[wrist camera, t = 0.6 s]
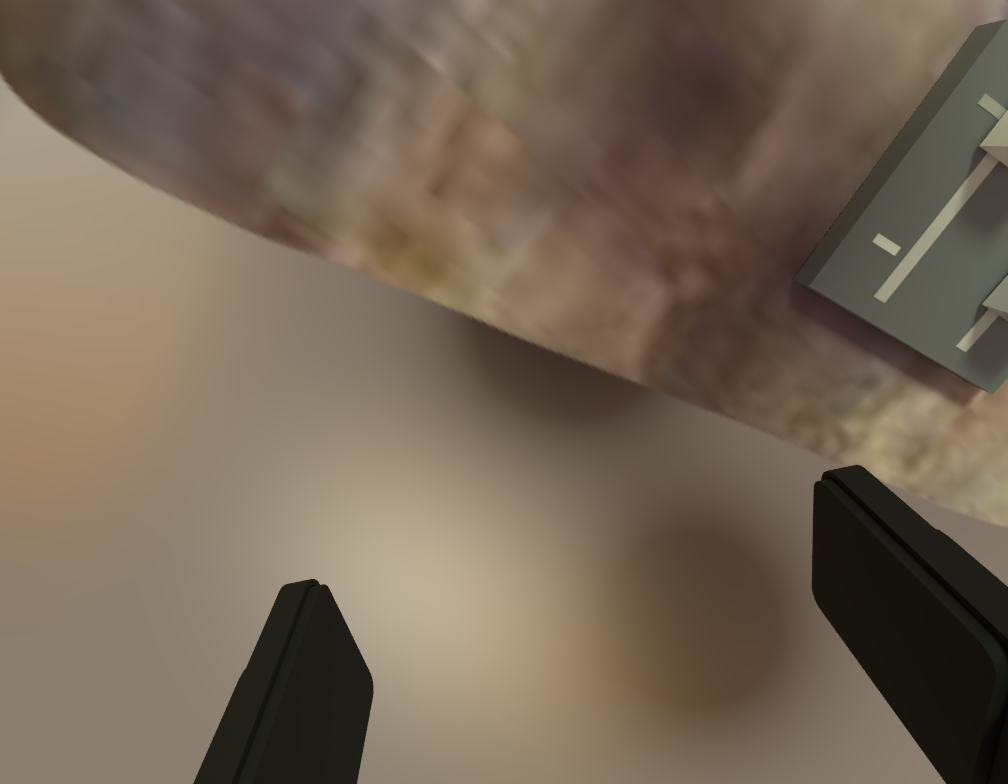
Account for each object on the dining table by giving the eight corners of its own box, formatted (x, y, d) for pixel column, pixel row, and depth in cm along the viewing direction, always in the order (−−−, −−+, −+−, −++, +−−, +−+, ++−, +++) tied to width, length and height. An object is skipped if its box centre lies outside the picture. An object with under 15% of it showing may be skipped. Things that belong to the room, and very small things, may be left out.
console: (977, 26, 33) (1007, 19, 31) (1162, 175, 37) (1198, 177, 35) (793, 279, 39) (809, 286, 37) (970, 383, 43) (992, 394, 41)
